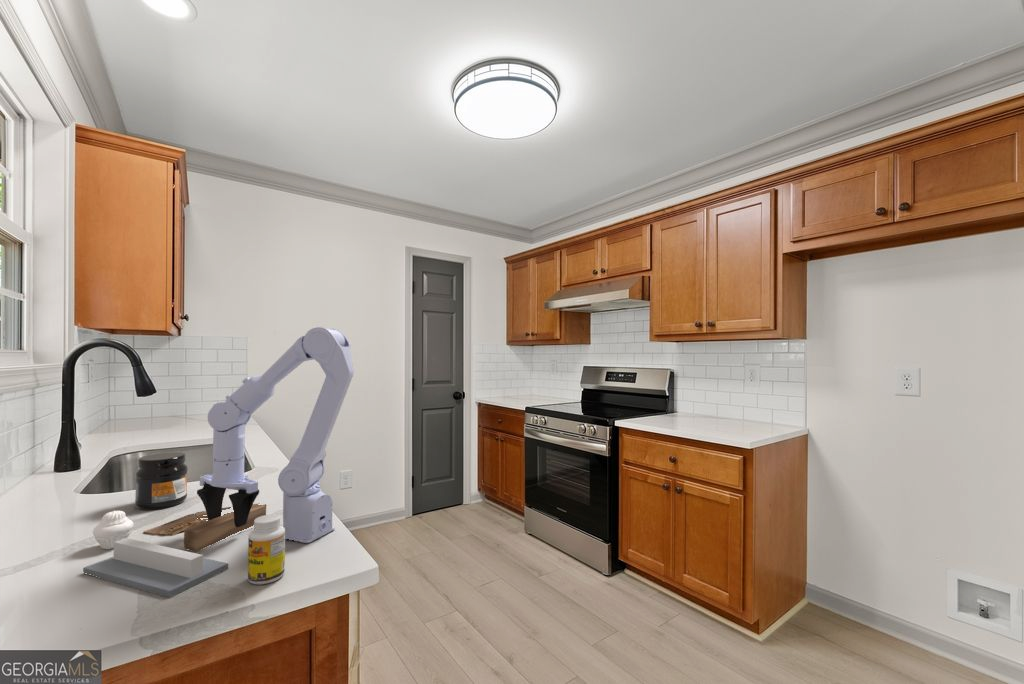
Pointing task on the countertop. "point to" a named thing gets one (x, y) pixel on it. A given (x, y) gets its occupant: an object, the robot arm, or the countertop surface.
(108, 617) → the countertop surface
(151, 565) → the balance stand
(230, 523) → the walnut batten
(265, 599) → the countertop surface
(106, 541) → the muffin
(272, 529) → the supplement bottle
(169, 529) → the fossil skeleton slab
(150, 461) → the supplement container
